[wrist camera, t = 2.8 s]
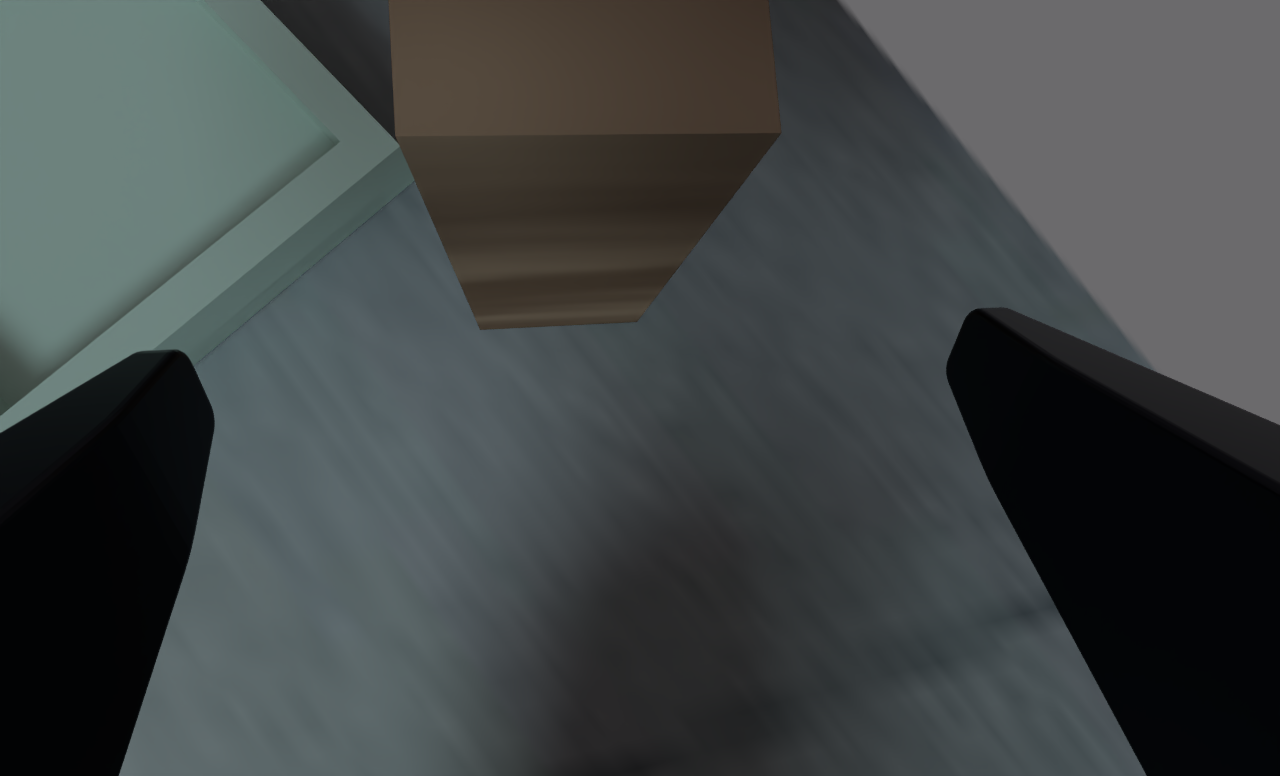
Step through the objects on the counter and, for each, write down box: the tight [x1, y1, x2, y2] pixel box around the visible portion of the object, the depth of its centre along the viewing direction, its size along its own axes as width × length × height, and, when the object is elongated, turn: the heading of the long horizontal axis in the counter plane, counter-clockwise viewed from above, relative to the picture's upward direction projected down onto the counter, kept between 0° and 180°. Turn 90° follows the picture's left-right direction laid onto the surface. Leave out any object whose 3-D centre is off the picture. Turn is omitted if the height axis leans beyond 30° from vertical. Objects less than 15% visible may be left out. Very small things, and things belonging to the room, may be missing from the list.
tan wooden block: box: [389, 0, 781, 330], centre depth 14 cm, size 4×4×12 cm
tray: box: [0, 0, 415, 433], centre depth 17 cm, size 12×12×2 cm
